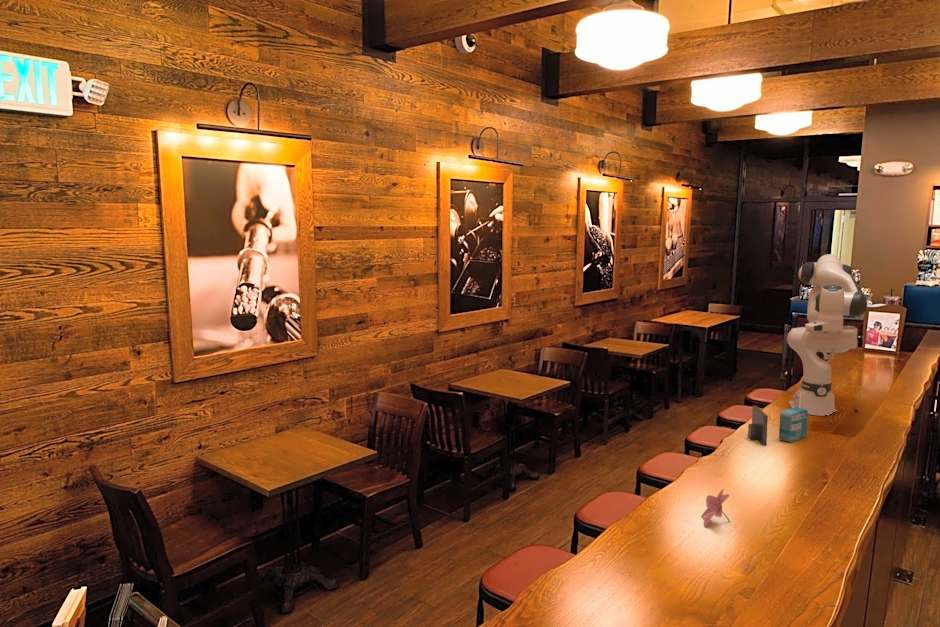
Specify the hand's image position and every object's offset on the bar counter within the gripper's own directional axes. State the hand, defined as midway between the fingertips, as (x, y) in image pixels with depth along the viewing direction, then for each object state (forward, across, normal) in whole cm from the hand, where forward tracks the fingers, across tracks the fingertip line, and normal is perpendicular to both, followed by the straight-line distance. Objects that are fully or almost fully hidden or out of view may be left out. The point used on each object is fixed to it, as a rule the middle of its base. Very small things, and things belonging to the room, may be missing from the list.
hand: (828, 359), depth 254 cm
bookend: (+31, +30, +10) cm, 45 cm away
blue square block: (+31, +15, +8) cm, 36 cm away
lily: (+32, +64, +84) cm, 110 cm away
